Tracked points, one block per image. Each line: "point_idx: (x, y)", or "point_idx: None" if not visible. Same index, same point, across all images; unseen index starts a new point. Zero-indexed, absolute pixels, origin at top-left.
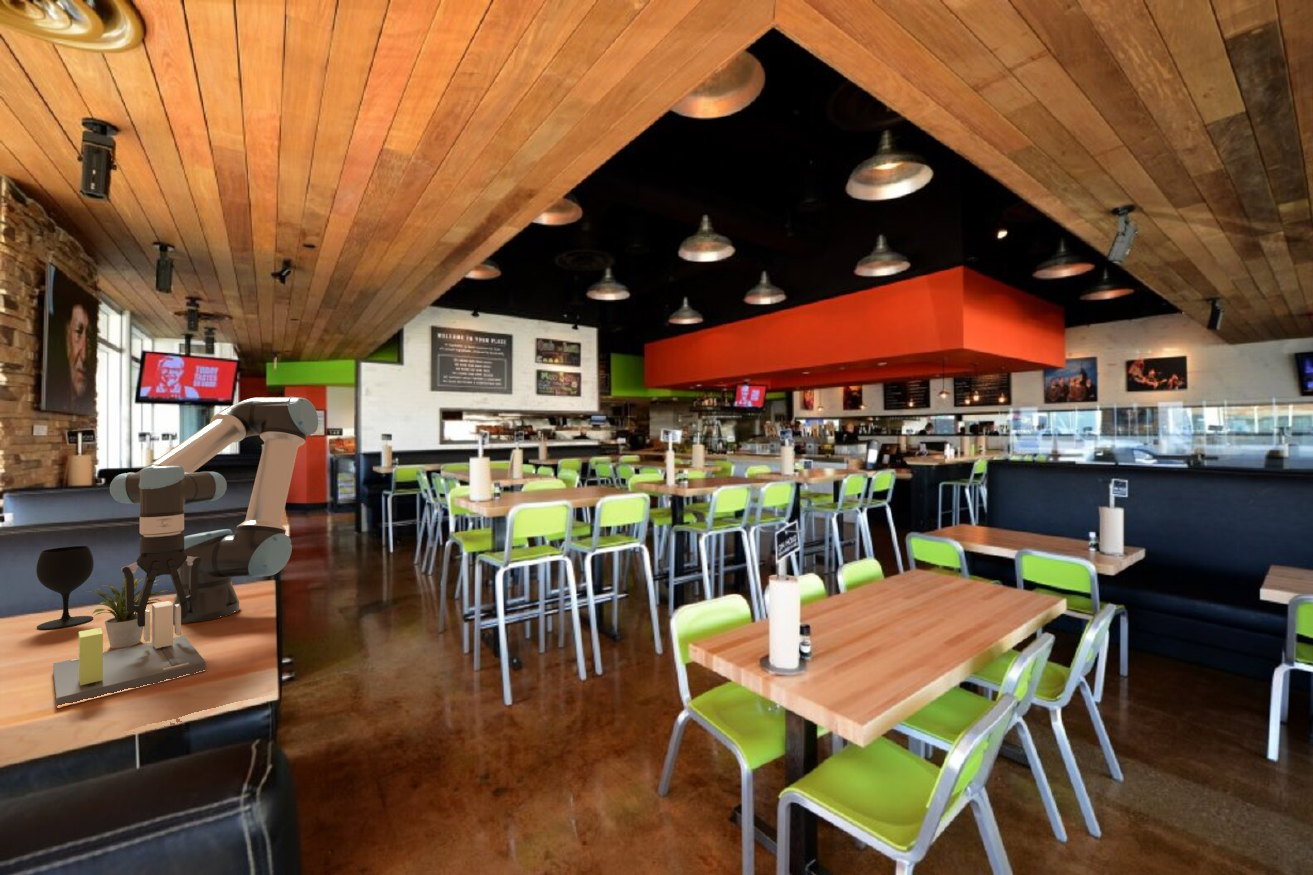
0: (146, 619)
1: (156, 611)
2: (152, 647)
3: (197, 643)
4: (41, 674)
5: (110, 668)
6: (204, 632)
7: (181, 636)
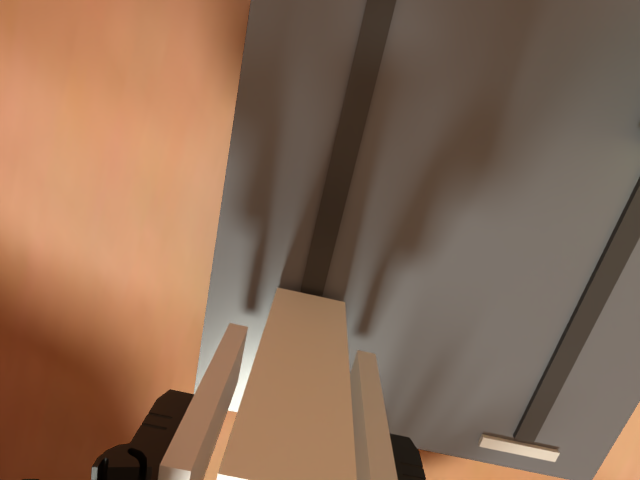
0: (387, 454)
1: (347, 464)
2: None
3: (170, 340)
4: None
5: (554, 213)
6: None
7: None
